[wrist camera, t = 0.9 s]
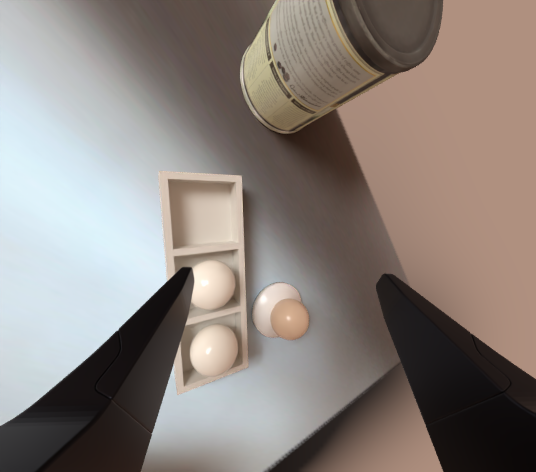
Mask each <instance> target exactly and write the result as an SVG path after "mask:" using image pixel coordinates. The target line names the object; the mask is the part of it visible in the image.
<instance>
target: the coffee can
mask: <svg viewBox="0 0 536 472" xmlns="http://www.w3.org/2000/svg"><path fill="white" fill-rule="evenodd" d="M442 10H443V0H276V2H275V3H274V5H273V7H272V8H271V10H270V12H269V14H268V15H267V17H266V19H265V20H264V22H263V23H262V25H261V27H260V29H259V31H258V32H257V34H256V36H255V38H254V39H253V41H252V43H251V45H250V46H249V47H248V48H247V50H246V52H245V54H244V56H243V58H242V62H241V68H240V80H241V87H242V91H243V95H244V98H245V100H246V102H247V104H248V106H249V108H250V110H251V111H252V113H253V114H254V115H255V117H256V118H257V119H258V120H259V121H260V122H261V123H262V124H263V125H265V126H266V127H268V128H269V129H271V130H273V131H276V132H279V133H283V134H289V133H294V132H297V131H299V130H300V129H302V128H303V127H304V126H306V125H308V124H310V123H311V122H313V121H315V120H317V119H319V118H320V117H322V116H324V115H326V114H327V113H329V112H331V111H333V110H334V109H336V108H338V107H340V106H342V105H343V104H345V103H347V102H349V101H350V100H352V99H354V98H356V97H358V96H359V95H361V94H363V93H365V92H367V91H368V90H370V89H372V88H374V87H375V86H377V85H379V84H381V83H382V82H384V81H386V80H388V79H390V78H391V77H393V76H395V75H397V74H399V73H400V72H405V71H408V70H410V69H412V68H414V67H416V66H417V65H419V64H420V63H422V62H423V61H424V60H425V59H426V58H427V57H428V55H429V54H430V53H431V51H432V49H433V47H434V45H435V43H436V40H437V37H438V33H439V29H440V24H441V19H442Z"/></svg>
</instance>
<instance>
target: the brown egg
mask: <svg viewBox="0 0 536 472" xmlns="http://www.w3.org/2000/svg"><path fill="white" fill-rule="evenodd" d="M270 322H271V326H272V328H273V330H274V332H275V333H276V334H277V335H278V336H279V337H281V338H283V339H286V340H295V339H298V338H300V337H302V336H303V335H304V334H305V332H306V331H307V329H308V326H309V314H308V311H307V309H306V308H305V306H304V305H303V304H302V303H301V302H299V301H298V300H295V299H291V298H287V299H283V300H281V301H279V302H278V303H276V304H275V306H274V307H273V309H272V311H271V315H270Z"/></svg>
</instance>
